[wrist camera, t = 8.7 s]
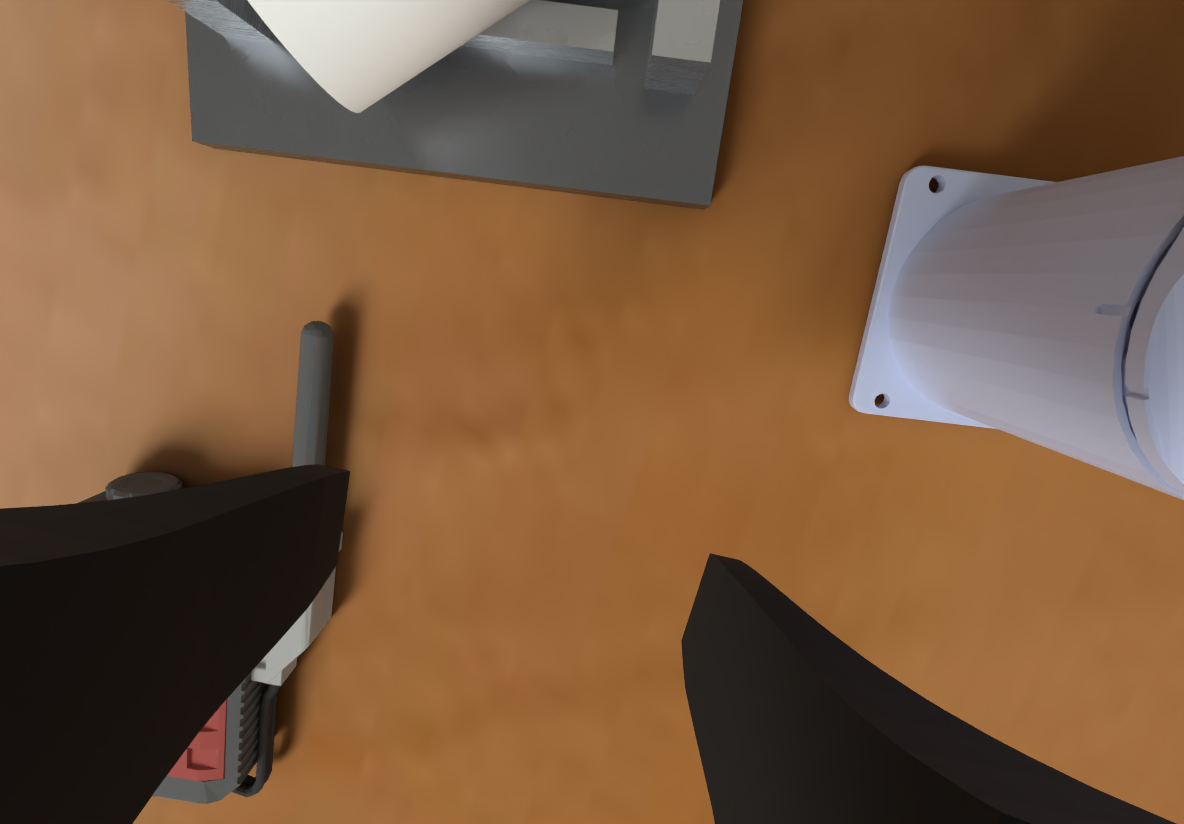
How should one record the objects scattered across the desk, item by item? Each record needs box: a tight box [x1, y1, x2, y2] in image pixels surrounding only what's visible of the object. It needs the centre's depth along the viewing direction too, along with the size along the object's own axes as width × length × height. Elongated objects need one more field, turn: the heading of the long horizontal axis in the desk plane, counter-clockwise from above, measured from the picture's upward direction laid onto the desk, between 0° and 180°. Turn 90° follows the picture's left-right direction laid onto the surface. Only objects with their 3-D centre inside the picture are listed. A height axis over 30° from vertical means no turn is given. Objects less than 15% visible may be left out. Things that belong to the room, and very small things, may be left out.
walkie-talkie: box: [79, 321, 343, 804], centre depth 19 cm, size 9×4×20 cm
